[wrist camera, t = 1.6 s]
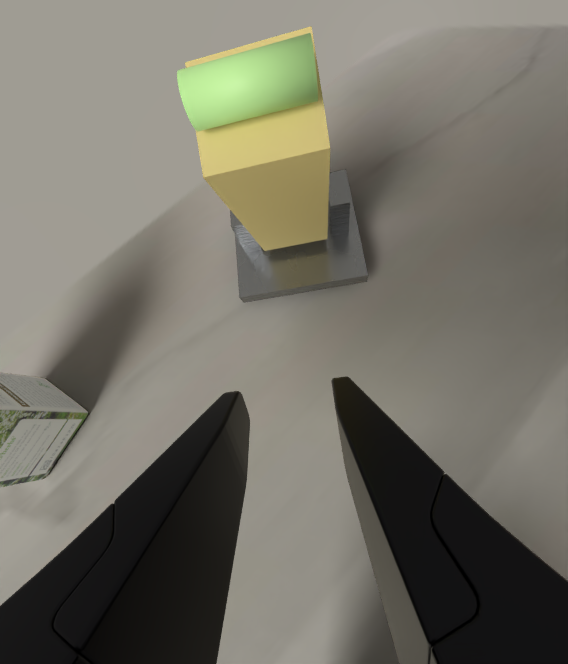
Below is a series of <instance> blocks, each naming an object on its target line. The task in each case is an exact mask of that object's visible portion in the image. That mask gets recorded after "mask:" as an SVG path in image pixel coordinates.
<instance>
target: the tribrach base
mask: <svg viewBox="0 0 568 664" xmlns="http://www.w3.org/2000/svg"><path fill="white" fill-rule="evenodd" d="M230 217H231V227H232V229H233V231H234V233H235V240H236V254H237V269H238V283H239V297H240V299H241V300H242V301H243V302H250V301H256V300H262V299H268V298H274V297H280V296H285V295H291V294H297V293H303V292H309V291H315V290H320V289H326V288H332V287H338V286H344V285H350V284H355V283H361V282H367V278H368V272H367V268H366V263H365V258H364V253H363V249H362V244H361V239H360V234H359V230H358V225H357V220H356V215H355V211H354V206H353V201H352V196H351V192H350V187H349V182H348V177H347V173H346V169H344V170H340V171H335V172H331V173H329V201H328V232H327V239H324V240H319V241H314V242H309V243H304V244H298V245H293V246H288V247H283V248H278V249H272V250H267V251H264V250H263V249H262V247H261V246H260V245H259V244H258V243H257V241H256V240H255V239H254V238H253V237H252V235H251V234H250V233H249V232H248V231H247V229H246V228H245V227H244V226H243V225H242V223H241V222H240V221H239V220H238V219H237V217H236V216H235V215H234V214H233V213H232V211H231V210H230Z"/></svg>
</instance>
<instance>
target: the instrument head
mask: <svg viewBox="0 0 568 664" xmlns="http://www.w3.org/2000/svg"><path fill="white" fill-rule="evenodd" d="M185 65H186V68H184V69H181V70H178V72H177V80H178V86H179V91H180V95H181V99H182V102H183V105H184V108H185V110H186V113H187V115H188V117H189V120H190V122H191V124H192V125H193V127H194V128H195V130H196V135H197V141H198V147H199V154H200V159H201V166H202V172H203V178H204V179H205V180H206V181H207V183H208V184H209V185H210V186H211V187H212V189H213V190H214V191H215V192H216V193H217V195H218V196H219V197H220V198H221V199H222V201H223V202H224V203H225V204H226V205H227V207H228V208H229V209H230V210H231V211H232V213H233V214H234V215H235V216H236V217H237V219H238V220H239V221H240V222H241V223H242V225H243V226H244V227H245V228H246V229H247V231H248V232H249V233H250V234H251V235H252V237H253V238H254V239H255V240H256V241H257V243H258V244H259V245H260V246H261V247H262V249H263V250H264V251H267V250H272V249H278V248H283V247H288V246H293V245H298V244H304V243H309V242H314V241H319V240H324V239H327V232H328V201H329V170H330V143H329V137H328V130H327V124H326V117H325V111H324V105H323V98H322V92H321V86H320V79H319V72H318V66H317V60H316V53H315V47H314V40H313V34H312V27H307V28H304V29H300V30H297V31H293V32H290V33H286V34H283V35H279V36H276V37H272V38H269V39H266V40H262V41H259V42H255V43H252V44H248V45H245V46H241V47H238V48H234V49H231V50H227V51H224V52H220V53H217V54H213V55H210V56H207V57H203V58H199V59H196V60H192V61H189V62H186V63H185Z"/></svg>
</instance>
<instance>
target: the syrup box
mask: <svg viewBox="0 0 568 664" xmlns="http://www.w3.org/2000/svg"><path fill="white" fill-rule="evenodd" d="M87 415H88V411H86V410H85V409H84V408H83V407H82V406H80V405H79V404H78V403H77V402H75V401H74V400H73V399H71V398H70V397H69V396H67V395H66V394H65V393H63V392H62V391H61V390H60V389H58V388H57V387H56V386H54V385H53V384H52V383H50V382H49V381H48V380H46V379H44V378H41V377H34V376H26V375H16V374H8V373H1V372H0V488H1V487H5V486H10V485H15V484H20V483H26V482H31V481H36V480H41V479H44V478H46V476H47V475H48V473H49V472H50V470H51V469H52V467H53V466H54V464H55V463H56V461H57V460H58V458H59V457H60V455H61V454H62V452H63V451H64V449H65V448H66V446H67V445H68V443H69V442H70V440H71V439H72V437H73V436H74V434H75V433H76V431H77V430H78V428H79V427H80V425H81V424H82V423H83V421H84V419H85V418H86V416H87Z"/></svg>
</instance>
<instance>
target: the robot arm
mask: <svg viewBox="0 0 568 664" xmlns="http://www.w3.org/2000/svg"><path fill="white" fill-rule="evenodd" d="M332 388H333V395H334V402H335V409H336V415H337V421H338V427H339V434H340V440H341V446H342V452H343V458H344V464H345V469H346V474H347V478H348V482H349V485H350V489H351V492H352V496H353V500H354V503H355V507H356V510H357V514H358V517H359V521H360V525H361V528H362V532H363V535H364V539H365V543H366V546H367V550H368V553H369V557H370V560H371V564H372V568H373V571H374V575H375V578H376V582H377V585H378V589H379V593H380V596H381V600H382V603H383V607H384V610H385V614H386V618H387V621H388V625H389V628H390V632H391V635H392V639H393V643H394V646H395V650H396V653H397V657H398V660H399V664H568V581H567V580H566V579H565V578H563V577H562V576H561V575H560V574H559V573H557V572H556V571H555V570H554V569H553V568H551V567H550V566H549V565H548V564H547V563H545V562H544V561H543V560H542V559H540V558H539V557H538V556H537V555H536V554H534V553H533V552H532V551H531V550H530V549H528V548H527V547H526V546H525V545H524V544H523V543H521V542H520V541H519V540H518V539H517V538H516V537H514V536H513V535H512V534H511V533H510V532H509V531H507V530H506V529H505V528H504V527H503V526H501V525H500V524H499V523H498V522H497V521H496V520H494V519H493V518H492V517H491V516H490V515H489V514H488V513H487V512H486V511H485V510H484V509H483V508H481V507H480V506H479V505H478V504H477V503H476V502H475V501H474V500H473V499H472V498H471V497H470V496H469V495H468V494H467V493H465V492H464V491H463V490H462V489H461V488H460V487H459V486H458V485H457V484H456V483H455V482H454V481H453V480H452V479H451V478H450V477H449V476H448V475H447V474H445V475H444V471H443V470H442V469H441V468H440V467H439V466H438V465H437V464H436V463H435V462H434V461H433V460H432V459H431V458H430V457H429V456H428V455H427V454H426V453H425V452H424V451H423V450H422V449H421V448H420V447H419V446H418V445H417V444H416V443H415V442H414V441H413V440H412V439H411V438H410V437H409V436H408V435H407V434H406V433H405V432H404V431H403V430H402V429H401V428H400V427H399V426H398V425H397V424H396V423H395V422H394V421H393V420H392V419H391V418H390V417H388V416H387V415H386V414H385V413H384V412H383V411H382V410H381V409H380V408H379V407H378V406H377V405H376V404H375V403H374V402H373V401H372V400H371V399H370V398H369V397H368V396H367V395H366V394H365V393H364V392H363V391H362V390H361V389H360V388H359V387H358V386H357V385H356V384H355V383H354V382H353V381H352V380H351V379H350V378H349V377H339V378H333V379H332ZM249 431H250V418H249V414H248V411H247V408H246V405H245V402H244V399H243V396H242V394H241V392H239V391H234V392H227V393H224V394H223V395H222V396H221V397H220V398H219V399H218V400H217V401H215V402H214V403H213V404H212V405H211V406H210V407H209V408H208V409H207V410H206V411H205V412H204V413H203V414H202V415H201V416H200V417H199V418H198V419H197V420H196V421H195V422H194V423H193V424H192V425H191V426H190V427H189V428H188V429H187V430H186V431H185V432H184V433H183V434H182V435H181V436H180V437H179V438H178V439H177V440H176V441H175V442H174V443H173V444H172V445H171V446H170V447H169V448H168V449H167V450H166V451H165V452H164V453H163V454H162V455H161V456H160V457H159V458H158V459H157V460H156V461H155V462H153V463H152V464H151V465H150V466H149V467H148V468H147V469H146V470H145V471H144V472H143V473H142V474H141V475H140V476H139V477H138V478H137V479H136V480H135V481H134V482H133V483H132V484H131V485H130V486H129V487H128V488H127V489H126V490H125V491H124V492H123V493H122V494H121V495H120V496H119V497H118V498H117V499H116V500H115V502H114V504H111V505H110V506H109V507H108V508H107V509H106V510H105V511H104V512H103V513H101V514H100V515H99V516H98V517H97V518H96V519H95V520H94V521H93V522H92V523H91V524H90V525H89V526H88V527H87V528H86V529H85V530H84V531H83V532H82V533H81V534H80V535H79V536H78V537H77V538H75V539H74V540H73V541H72V542H71V543H70V544H69V545H68V546H67V547H66V548H65V549H64V550H63V551H61V552H60V553H59V554H58V555H57V556H56V557H55V558H54V559H53V560H51V561H50V562H49V563H48V564H47V565H46V566H45V567H44V568H43V569H41V570H40V571H39V572H38V573H37V574H36V575H35V576H34V577H33V578H31V579H30V580H29V581H28V582H27V583H26V584H25V585H23V586H22V587H21V588H20V589H19V590H18V591H17V592H15V593H14V594H13V595H12V596H11V597H10V598H9V599H7V600H6V601H5V602H4V603H3V604H2V605H1V606H0V664H216V663H217V657H218V651H219V645H220V639H221V633H222V627H223V621H224V615H225V609H226V603H227V597H228V591H229V585H230V579H231V573H232V567H233V561H234V555H235V549H236V543H237V537H238V531H239V525H240V519H241V513H242V507H243V501H244V495H245V489H246V481H247V468H248V450H249Z"/></svg>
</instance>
